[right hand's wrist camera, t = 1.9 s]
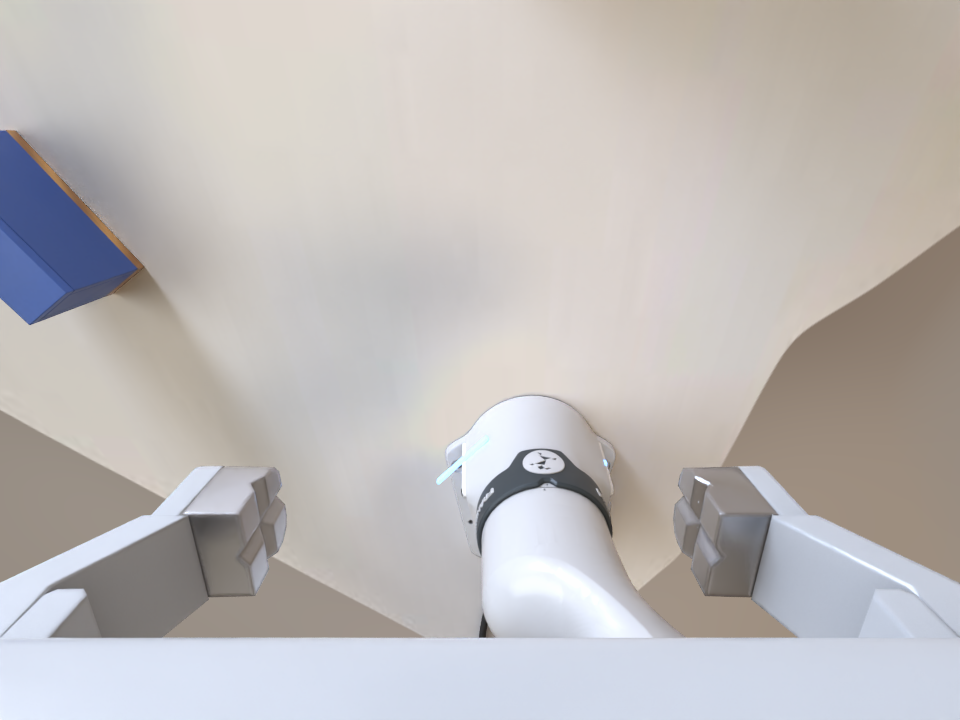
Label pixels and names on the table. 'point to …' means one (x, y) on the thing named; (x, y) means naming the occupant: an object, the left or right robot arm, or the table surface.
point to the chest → (60, 226)
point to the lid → (27, 279)
